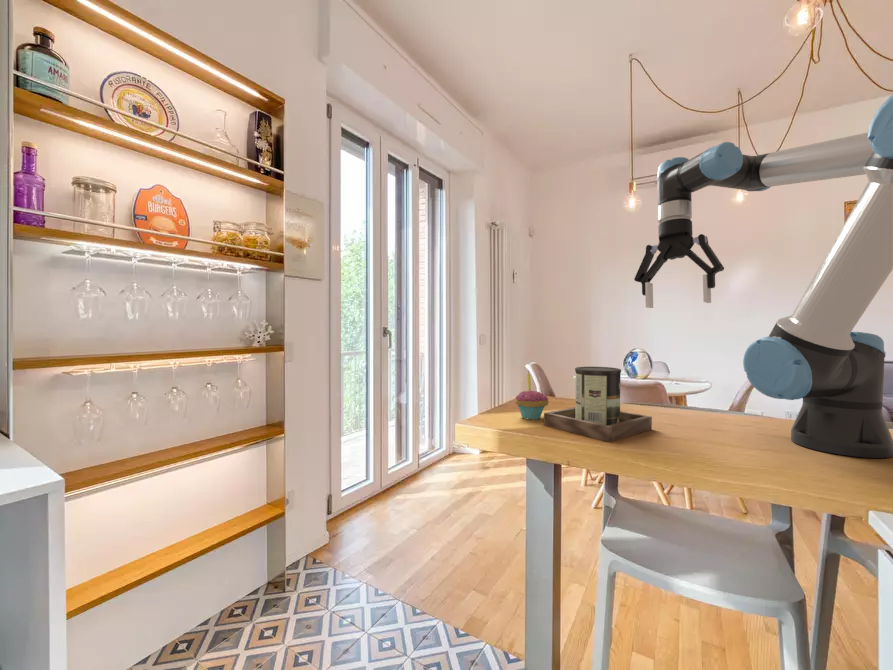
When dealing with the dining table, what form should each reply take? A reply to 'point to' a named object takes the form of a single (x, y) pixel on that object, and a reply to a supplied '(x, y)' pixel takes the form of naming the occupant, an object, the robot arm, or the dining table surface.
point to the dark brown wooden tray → (626, 427)
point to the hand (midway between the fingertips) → (677, 305)
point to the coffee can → (598, 394)
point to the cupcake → (531, 402)
